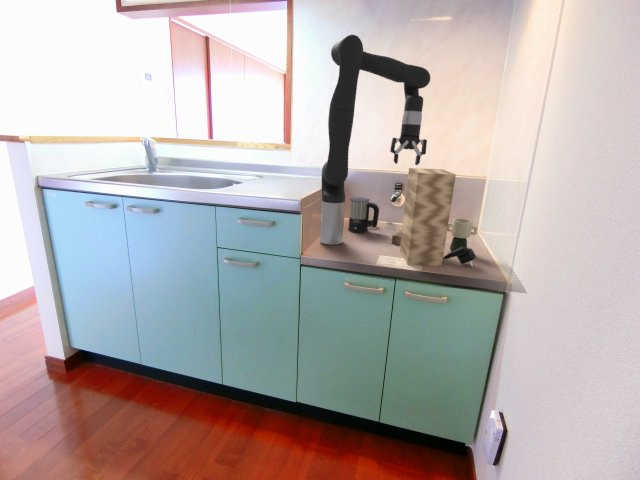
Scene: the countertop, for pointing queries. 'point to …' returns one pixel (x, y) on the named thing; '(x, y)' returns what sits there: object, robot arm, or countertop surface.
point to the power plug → (462, 255)
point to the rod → (397, 238)
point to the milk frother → (361, 214)
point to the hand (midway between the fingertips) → (406, 164)
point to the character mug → (461, 232)
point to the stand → (426, 216)
